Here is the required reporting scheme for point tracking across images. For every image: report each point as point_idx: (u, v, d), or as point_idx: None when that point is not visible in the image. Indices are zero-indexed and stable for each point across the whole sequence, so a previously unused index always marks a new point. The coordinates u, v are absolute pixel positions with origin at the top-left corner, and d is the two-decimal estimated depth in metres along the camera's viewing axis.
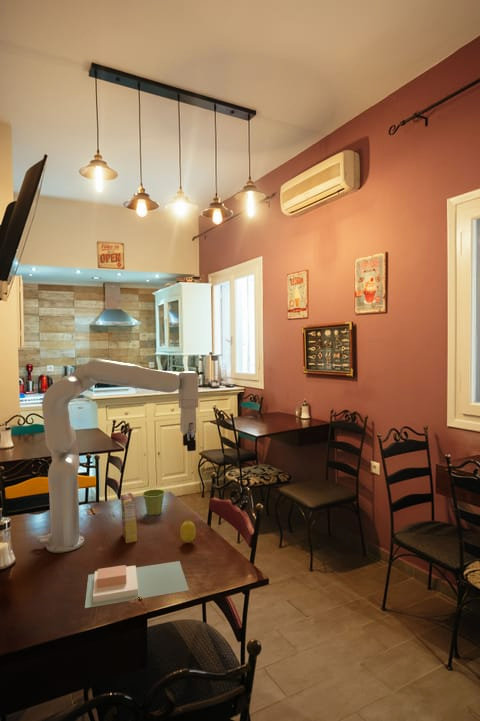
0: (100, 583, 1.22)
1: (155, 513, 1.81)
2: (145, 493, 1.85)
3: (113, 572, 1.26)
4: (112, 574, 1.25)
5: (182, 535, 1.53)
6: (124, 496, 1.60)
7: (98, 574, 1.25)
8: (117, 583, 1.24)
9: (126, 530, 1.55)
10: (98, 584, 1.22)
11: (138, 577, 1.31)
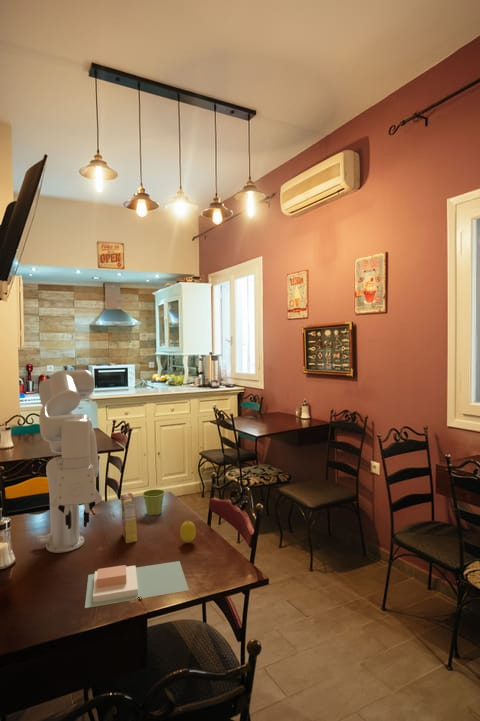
0: (100, 583, 1.22)
1: (155, 513, 1.81)
2: (145, 493, 1.85)
3: (113, 572, 1.26)
4: (112, 574, 1.25)
5: (182, 535, 1.53)
6: (124, 496, 1.60)
7: (98, 574, 1.25)
8: (117, 583, 1.24)
9: (126, 530, 1.55)
10: (98, 584, 1.22)
11: (138, 577, 1.31)
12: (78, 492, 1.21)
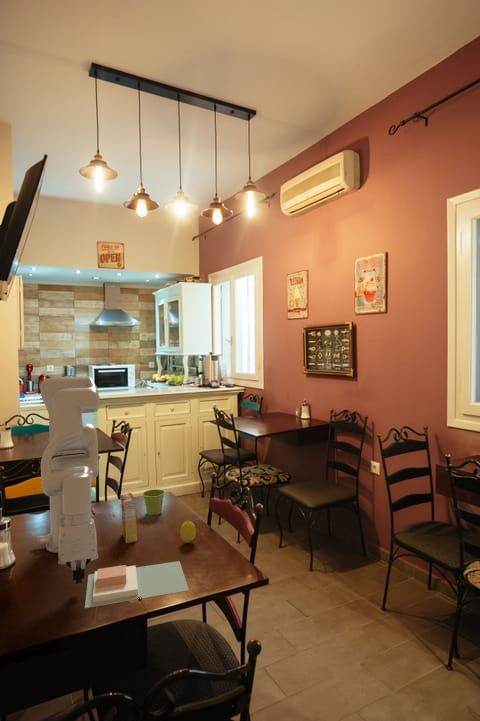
0: (100, 583, 1.22)
1: (155, 513, 1.81)
2: (145, 493, 1.85)
3: (113, 572, 1.26)
4: (112, 574, 1.25)
5: (182, 535, 1.53)
6: (124, 496, 1.60)
7: (98, 574, 1.25)
8: (117, 583, 1.24)
9: (126, 530, 1.55)
10: (98, 584, 1.22)
11: (138, 577, 1.31)
12: (79, 548, 1.21)
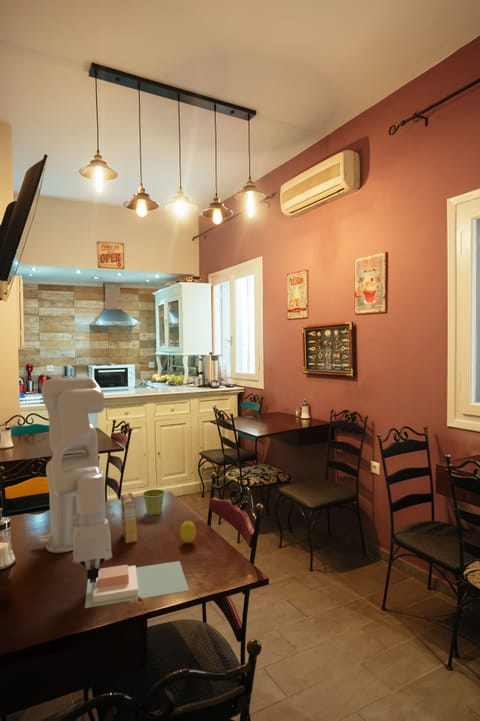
0: (102, 583, 1.23)
1: (155, 513, 1.81)
2: (145, 493, 1.85)
3: (115, 572, 1.26)
4: (114, 573, 1.25)
5: (182, 535, 1.53)
6: (124, 496, 1.60)
7: (100, 574, 1.25)
8: (119, 582, 1.24)
9: (126, 530, 1.55)
10: (100, 584, 1.22)
11: (138, 577, 1.31)
12: (94, 548, 1.22)
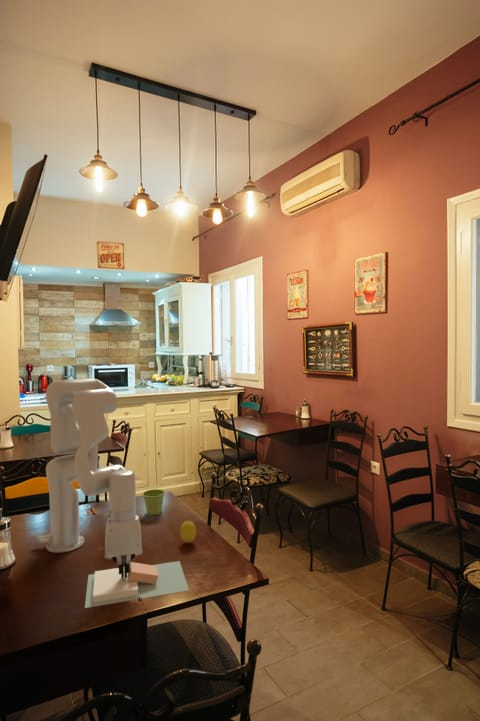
0: (132, 576, 1.25)
1: (155, 513, 1.81)
2: (145, 493, 1.85)
3: (145, 569, 1.28)
4: (145, 571, 1.28)
5: (182, 535, 1.53)
6: None
7: (132, 567, 1.28)
8: (147, 581, 1.26)
9: None
10: (131, 577, 1.25)
11: None
12: (125, 544, 1.24)
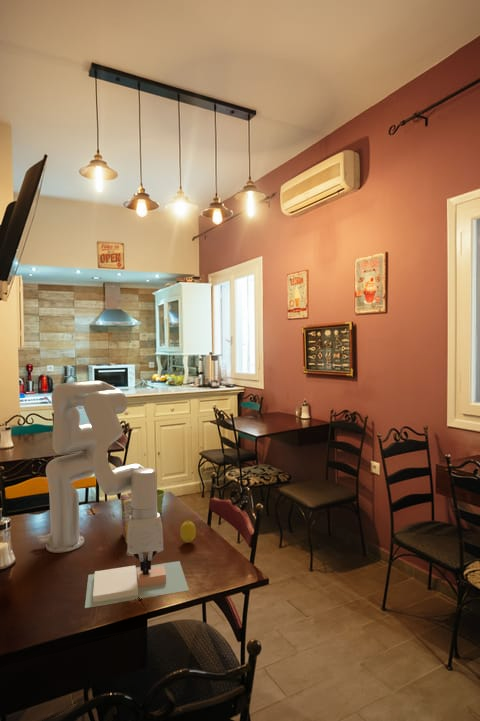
0: (141, 583, 1.26)
1: None
2: None
3: (152, 572, 1.29)
4: (152, 573, 1.28)
5: (182, 535, 1.53)
6: (124, 496, 1.60)
7: (138, 574, 1.28)
8: (157, 582, 1.27)
9: (126, 530, 1.55)
10: (139, 584, 1.25)
11: None
12: (147, 541, 1.26)
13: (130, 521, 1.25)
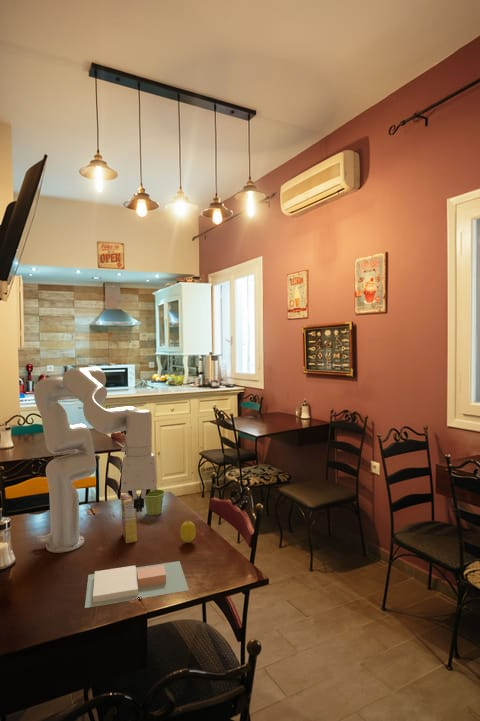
0: (141, 583, 1.26)
1: (155, 513, 1.81)
2: None
3: (152, 572, 1.29)
4: (152, 573, 1.28)
5: (182, 535, 1.53)
6: (124, 496, 1.60)
7: (138, 574, 1.28)
8: (157, 582, 1.27)
9: (126, 530, 1.55)
10: (139, 584, 1.25)
11: None
12: (141, 478, 1.29)
13: (124, 459, 1.28)
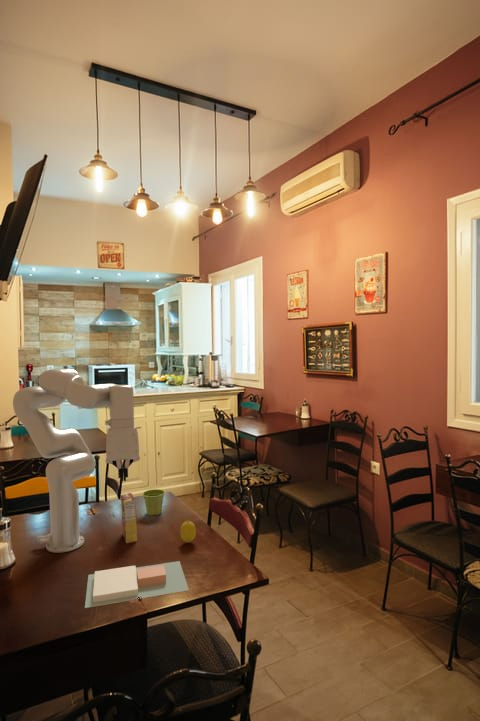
0: (141, 583, 1.26)
1: (155, 513, 1.81)
2: (145, 493, 1.85)
3: (152, 572, 1.29)
4: (152, 573, 1.28)
5: (182, 535, 1.53)
6: (124, 496, 1.60)
7: (138, 574, 1.28)
8: (157, 582, 1.27)
9: (126, 530, 1.55)
10: (139, 584, 1.25)
11: None
12: (124, 449, 1.37)
13: (108, 430, 1.37)
